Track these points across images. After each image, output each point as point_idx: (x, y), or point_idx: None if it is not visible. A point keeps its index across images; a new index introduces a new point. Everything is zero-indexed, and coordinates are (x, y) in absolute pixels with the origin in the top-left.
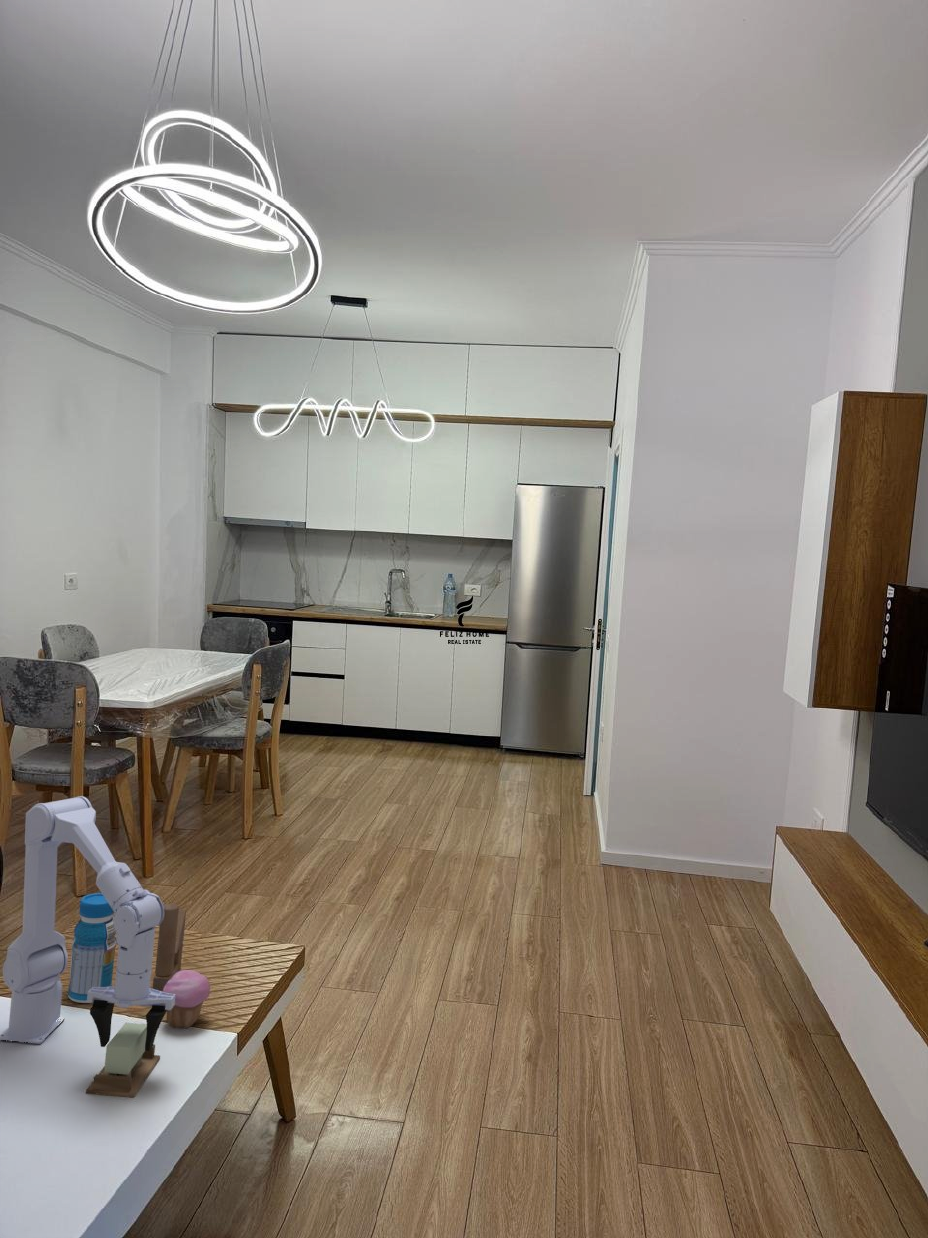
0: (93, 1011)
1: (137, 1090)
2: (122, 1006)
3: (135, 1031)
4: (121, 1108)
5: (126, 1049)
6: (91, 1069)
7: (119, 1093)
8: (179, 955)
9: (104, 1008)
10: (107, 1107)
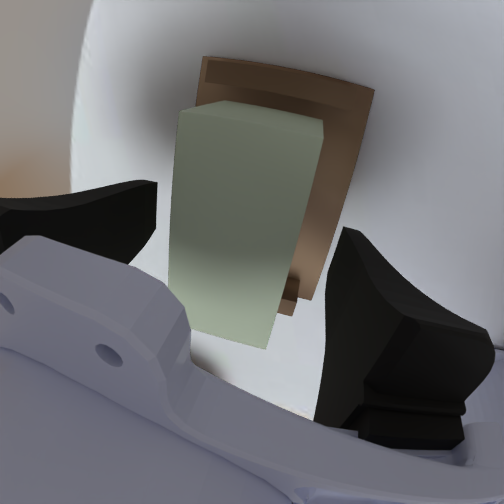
0: (479, 341)
1: (200, 84)
2: (71, 264)
3: (201, 277)
4: (233, 2)
5: (202, 111)
6: (374, 230)
7: (253, 62)
8: None
9: (383, 381)
10: (280, 6)
